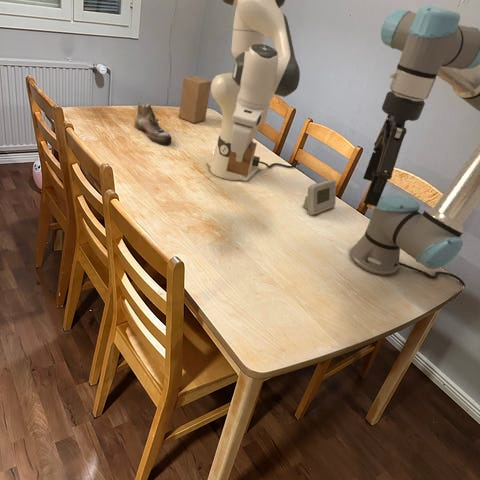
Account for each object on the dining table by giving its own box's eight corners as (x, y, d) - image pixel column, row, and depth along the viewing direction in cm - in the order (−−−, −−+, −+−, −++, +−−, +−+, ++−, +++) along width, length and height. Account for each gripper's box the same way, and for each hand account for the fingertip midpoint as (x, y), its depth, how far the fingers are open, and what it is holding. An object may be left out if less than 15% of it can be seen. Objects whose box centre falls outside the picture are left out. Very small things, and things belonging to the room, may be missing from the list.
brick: (230, 164, 131) (235, 137, 127) (250, 170, 131) (256, 143, 126) (226, 170, 127) (231, 142, 122) (247, 176, 127) (253, 148, 122)
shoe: (175, 145, 192) (178, 118, 185) (151, 146, 186) (153, 118, 180) (154, 124, 209) (157, 98, 202) (132, 124, 203) (133, 97, 197)
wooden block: (194, 123, 220) (199, 83, 210) (178, 117, 224) (183, 77, 213) (205, 120, 228) (211, 81, 218) (190, 114, 232) (195, 75, 221)
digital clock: (309, 217, 160) (317, 191, 154) (294, 205, 166) (301, 179, 160) (340, 211, 169) (349, 186, 163) (324, 200, 175) (332, 175, 169)
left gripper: (248, 98, 128) (239, 143, 136) (231, 116, 111) (221, 166, 118) (269, 104, 128) (258, 148, 135) (255, 123, 110) (244, 173, 118)
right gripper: (385, 79, 97) (353, 167, 108) (392, 105, 76) (352, 210, 87) (418, 87, 96) (383, 175, 108) (435, 116, 75) (389, 221, 87)
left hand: (241, 157), depth 127 cm, fingers closed on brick, 5 cm apart
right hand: (369, 191), depth 98 cm, fingers open, 13 cm apart
